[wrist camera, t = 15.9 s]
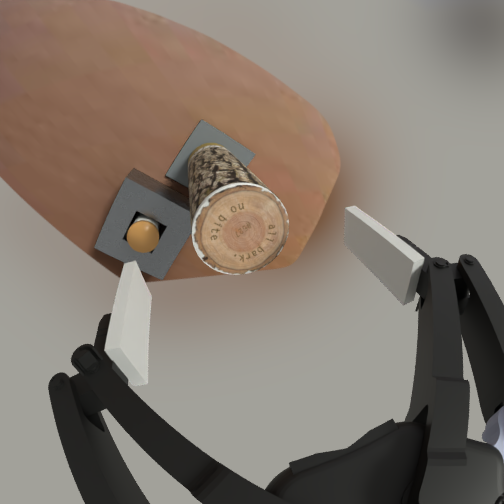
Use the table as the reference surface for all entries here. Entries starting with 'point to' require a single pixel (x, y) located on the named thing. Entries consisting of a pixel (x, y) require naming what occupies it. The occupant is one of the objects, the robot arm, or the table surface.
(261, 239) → the paper tube
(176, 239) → the block
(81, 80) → the table surface
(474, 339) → the robot arm
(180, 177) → the mat
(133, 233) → the plunger
